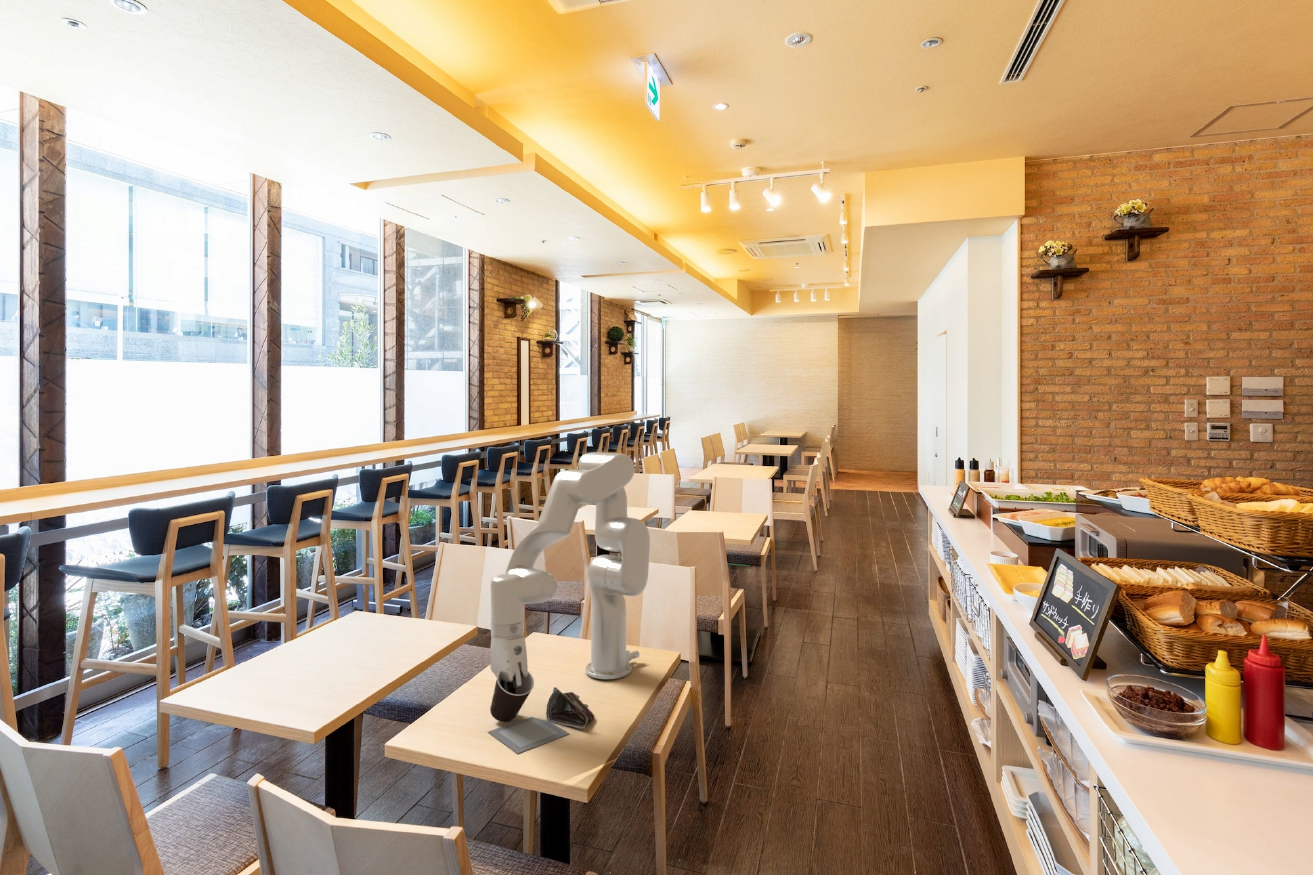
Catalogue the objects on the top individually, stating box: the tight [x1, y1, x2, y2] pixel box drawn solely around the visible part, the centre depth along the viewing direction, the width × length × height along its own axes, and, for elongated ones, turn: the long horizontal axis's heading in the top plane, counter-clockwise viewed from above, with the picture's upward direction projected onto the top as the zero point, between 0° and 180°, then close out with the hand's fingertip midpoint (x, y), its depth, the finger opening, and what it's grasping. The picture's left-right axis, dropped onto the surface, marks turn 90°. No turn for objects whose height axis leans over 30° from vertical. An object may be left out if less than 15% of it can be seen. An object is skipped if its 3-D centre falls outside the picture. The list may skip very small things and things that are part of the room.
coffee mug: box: [489, 671, 535, 723], centre depth 149 cm, size 12×9×10 cm
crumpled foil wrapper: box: [545, 687, 595, 730], centre depth 149 cm, size 10×7×12 cm
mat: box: [487, 716, 570, 755], centre depth 142 cm, size 13×13×1 cm
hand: (507, 706), depth 149 cm, fingers closed
